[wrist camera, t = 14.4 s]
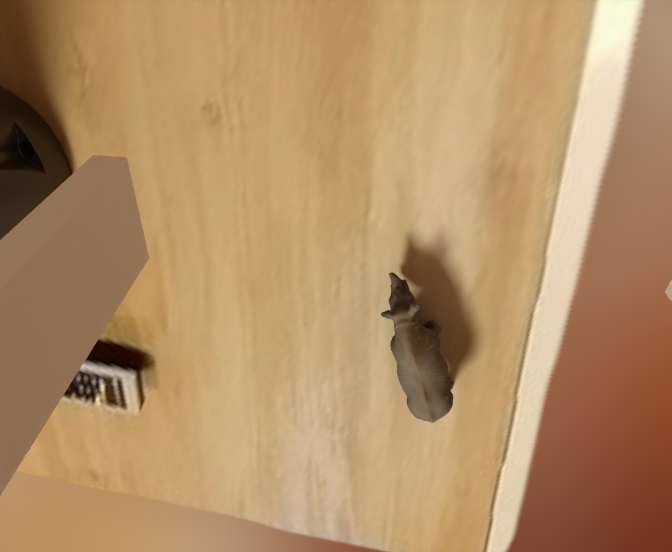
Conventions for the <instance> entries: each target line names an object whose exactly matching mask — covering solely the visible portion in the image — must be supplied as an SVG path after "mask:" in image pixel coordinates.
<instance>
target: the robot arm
mask: <svg viewBox="0 0 672 552" xmlns="http://www.w3.org/2000/svg"><path fill="white" fill-rule="evenodd" d="M148 259H149V255H148V250H147V246H146V242H145V237H144V233H143V228H142V224H141V219H140V215H139V210H138V206H137V201H136V197H135V193H134V188H133V184H132V179H131V175H130V170H129V166H128V161H127V157H112V156H95V155H93V156H92V157H91V158H90V159H89V160H87V161H86V162H85V163H84V164H83V165H82V166H81V167H80V168H79V169H78V170H77V171H75V172H74V173H73V174H72V175H71V173H70V169H69V166H68V163H67V160H66V158H65V155H64V153H63V151H62V149H61V147H60V145H59V143H58V141H57V139H56V138H55V136H54V135H53V133H52V132H51V130H50V129H49V127H48V126H47V125H46V124H45V122H44V121H43V120H42V119H41V118H40V117H39V115H38V114H37V113H36V112H35V111H34V110H33V109H32V108H30V107H29V106H28V105H27V104H26V103H25V102H23V101H22V100H21V99H19V98H18V97H16V96H15V95H13V94H12V93H10V92H8V91H6V90H4V89H3V88H0V495H1V493H2V492H3V490H4V489H5V487H6V485H7V484H8V482H9V481H10V479H11V478H12V476H13V474H14V473H15V471H16V470H17V468H18V466H19V465H20V463H21V462H22V460H23V458H24V457H25V455H26V454H27V452H28V450H29V449H30V447H31V446H32V444H33V442H34V441H35V439H36V438H37V436H38V434H39V433H40V431H41V430H42V428H43V426H44V425H45V423H46V422H47V420H48V419H49V417H50V415H51V414H52V412H53V411H54V409H55V407H56V406H57V404H58V403H59V401H60V399H61V398H62V396H63V395H64V393H65V391H66V390H67V388H68V387H69V385H70V383H71V382H72V380H73V379H74V377H75V375H76V374H77V372H78V371H79V369H80V367H81V366H82V364H83V363H84V361H85V359H86V358H87V356H88V355H89V353H90V351H91V350H92V348H93V347H94V345H95V343H96V342H97V340H98V339H99V337H100V335H101V334H102V332H103V331H104V329H105V328H106V326H107V324H108V323H109V321H110V320H111V318H112V316H113V315H114V313H115V312H116V310H117V308H118V307H119V305H120V304H121V302H122V300H123V299H124V297H125V296H126V294H127V292H128V291H129V289H130V288H131V286H132V284H133V283H134V281H135V280H136V278H137V276H138V275H139V273H140V272H141V270H142V268H143V267H144V265H145V264H146V262H147V260H148ZM665 293H666V294H667V296H668V297H669V298H670V300H671V301H672V280H671V282H670V284H669V285H668V287H667V289H666V291H665Z"/></svg>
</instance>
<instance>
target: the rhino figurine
mask: <svg viewBox="0 0 672 552" xmlns="http://www.w3.org/2000/svg"><path fill="white" fill-rule="evenodd" d="M389 276H390V278H391V296H390V299H389V304H390V307H391V311H390V310H387V311H385V312H382V313H381V316H383V317H385V318H388V319H392V320H393V322H394V329H395V335H394V336H393V338H392V341H391V350H392V353H393V355H394V357H395V359H396V362H397V375H398V379H399V382H400V384H401V386H402V388H403V390H404V392H405V393H406V395H407V405H408V408H409V410H410V411H411V413H412V414H413V415H414V416H415V417H416V418H418V419H421V420H424V421H429V422H432V423H433V422H435V421H437V420H438V419H440V418H442V417H443V416H444V415H446V414H447V413H448V412H449V411H450V409H451V408H452V405H453V394H452V392H451V391H450V390H451V389H452V388H453V383H452V382H451V381H450V379H449V378H448V366H447V363H446V361H445V359H444V358H443V356H442V355H441V354H440V352H439V347H440V340H439V338H438V334H439V333H440V331H441V328H440V327H439V326H438V325H437V323H436V322H433V321H432V322H430V323H428V324H426V325H425V328H424V327H423V325H422V323H421V322H420V320H419V308H420V307H421V306H420V305H417V304H416V302H415V299H414V297H413V295H412V293H411V292H410V290H409V287H408V284H407V282H406V280H401V279H400V278H399V277H398V276H397V275H396V274H394V273H389Z"/></svg>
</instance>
